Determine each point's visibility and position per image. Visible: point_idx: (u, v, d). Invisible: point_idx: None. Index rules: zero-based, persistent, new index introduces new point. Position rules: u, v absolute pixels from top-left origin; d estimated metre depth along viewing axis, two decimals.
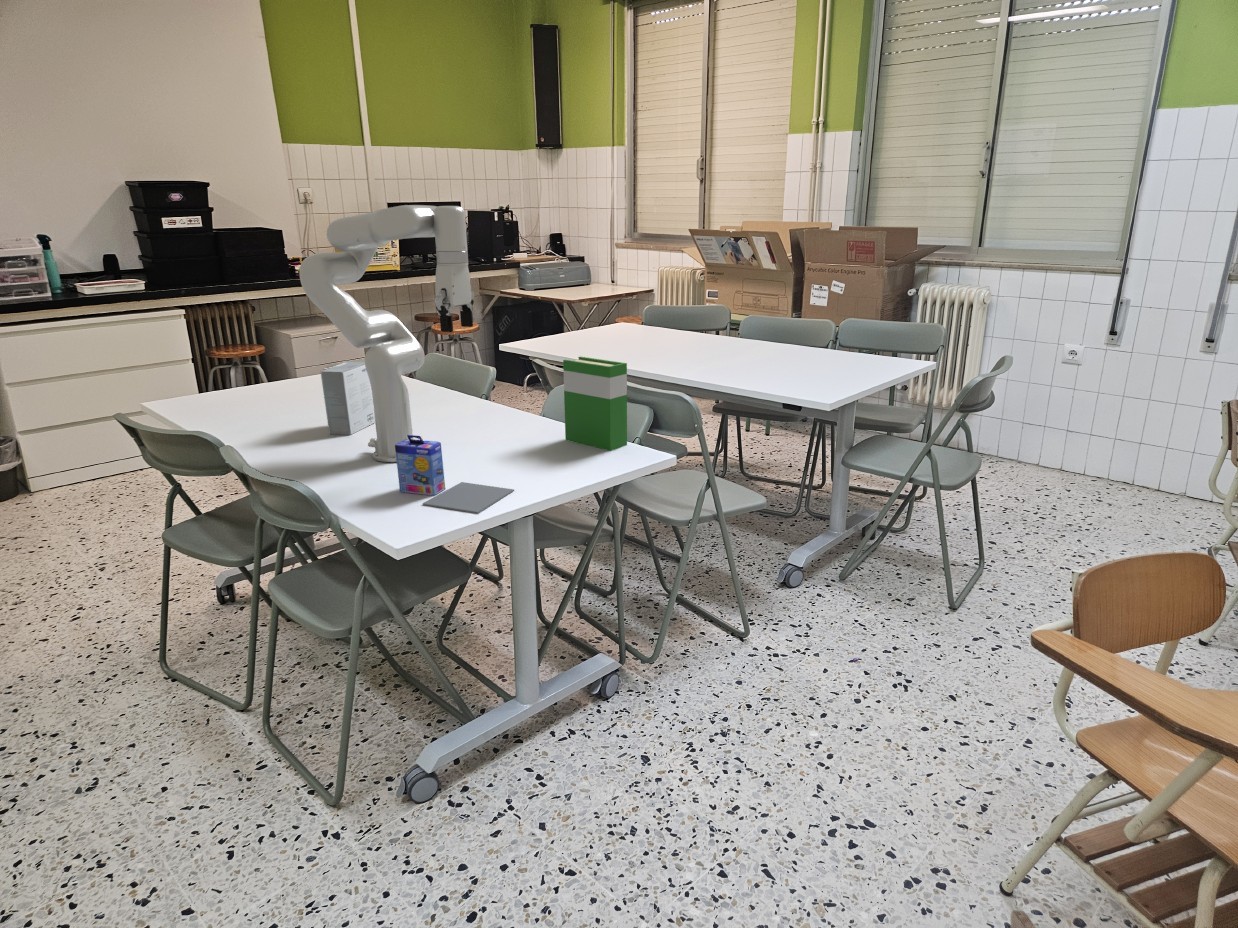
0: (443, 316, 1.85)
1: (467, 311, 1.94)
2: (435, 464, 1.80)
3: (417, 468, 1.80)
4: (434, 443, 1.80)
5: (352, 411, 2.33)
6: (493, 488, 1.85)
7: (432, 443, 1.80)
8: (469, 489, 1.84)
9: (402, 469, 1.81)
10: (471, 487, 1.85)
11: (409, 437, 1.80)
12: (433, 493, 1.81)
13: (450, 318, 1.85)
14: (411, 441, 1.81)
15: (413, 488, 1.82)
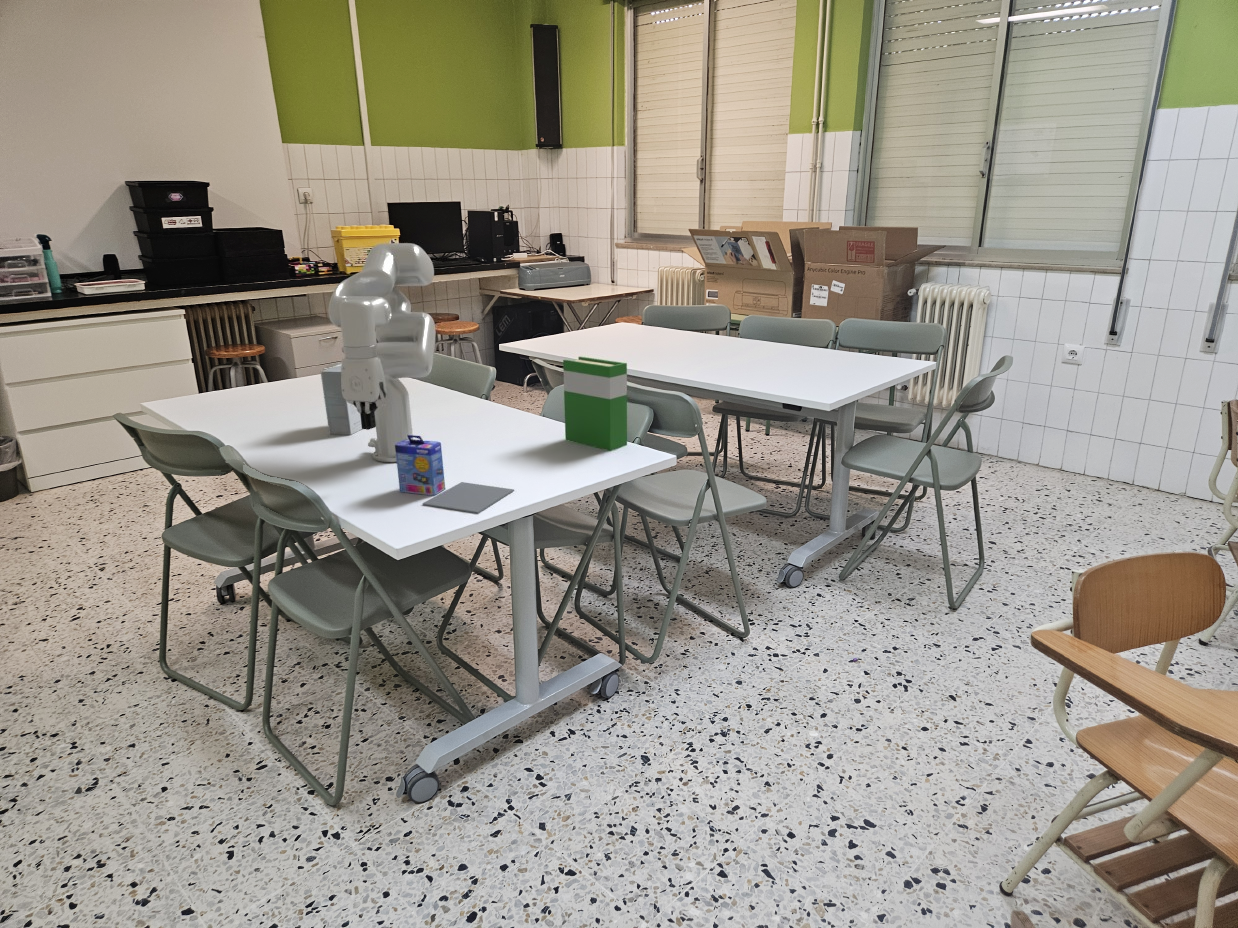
0: (371, 413, 1.83)
1: None
2: (435, 464, 1.80)
3: (417, 468, 1.80)
4: (434, 443, 1.80)
5: (352, 411, 2.33)
6: (493, 488, 1.85)
7: (432, 443, 1.80)
8: (469, 489, 1.84)
9: (402, 469, 1.81)
10: (471, 487, 1.85)
11: (409, 437, 1.80)
12: (433, 493, 1.81)
13: None
14: (411, 441, 1.81)
15: (413, 488, 1.82)
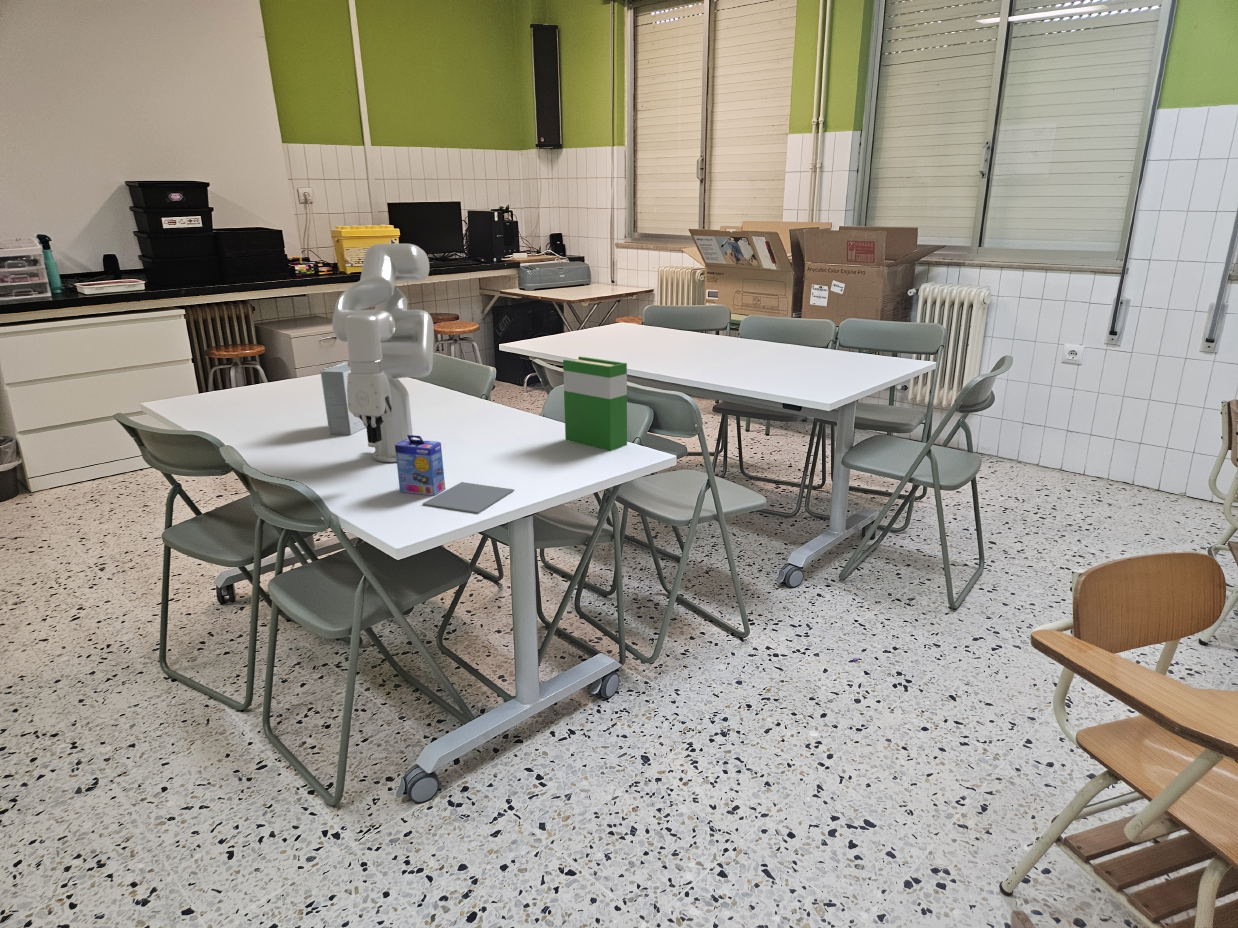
0: (377, 427, 1.84)
1: None
2: (435, 464, 1.80)
3: (417, 468, 1.80)
4: (434, 443, 1.80)
5: None
6: (493, 488, 1.85)
7: (432, 443, 1.80)
8: (469, 489, 1.84)
9: (402, 469, 1.81)
10: (471, 487, 1.85)
11: (409, 437, 1.80)
12: (433, 493, 1.81)
13: None
14: (411, 441, 1.81)
15: (413, 488, 1.82)
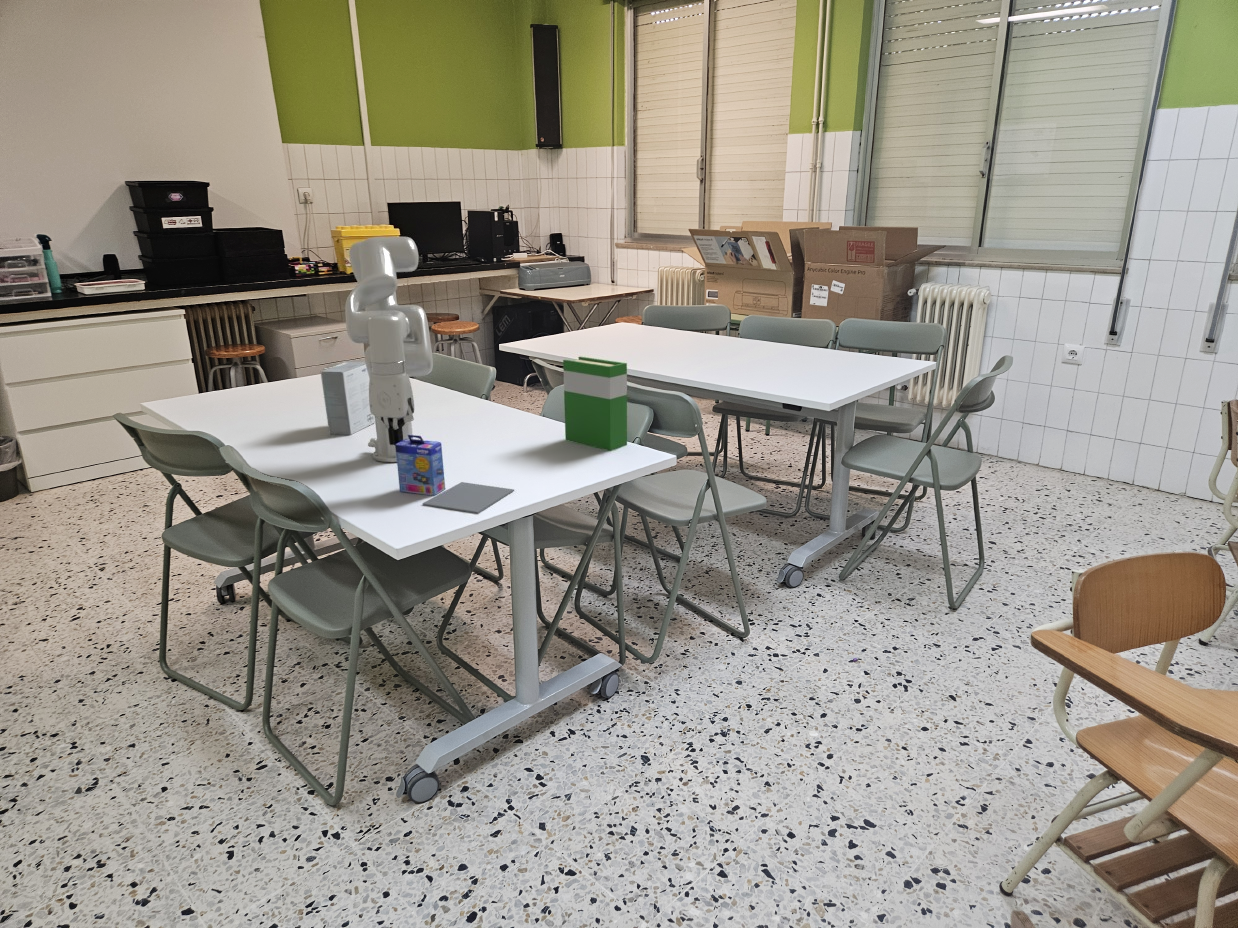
0: (399, 428, 1.81)
1: None
2: (436, 464, 1.80)
3: (417, 468, 1.80)
4: (434, 443, 1.80)
5: (352, 411, 2.33)
6: (493, 488, 1.85)
7: (432, 443, 1.80)
8: (469, 489, 1.84)
9: (402, 468, 1.81)
10: (471, 487, 1.85)
11: (409, 437, 1.80)
12: (433, 493, 1.81)
13: None
14: (411, 441, 1.80)
15: (413, 488, 1.82)
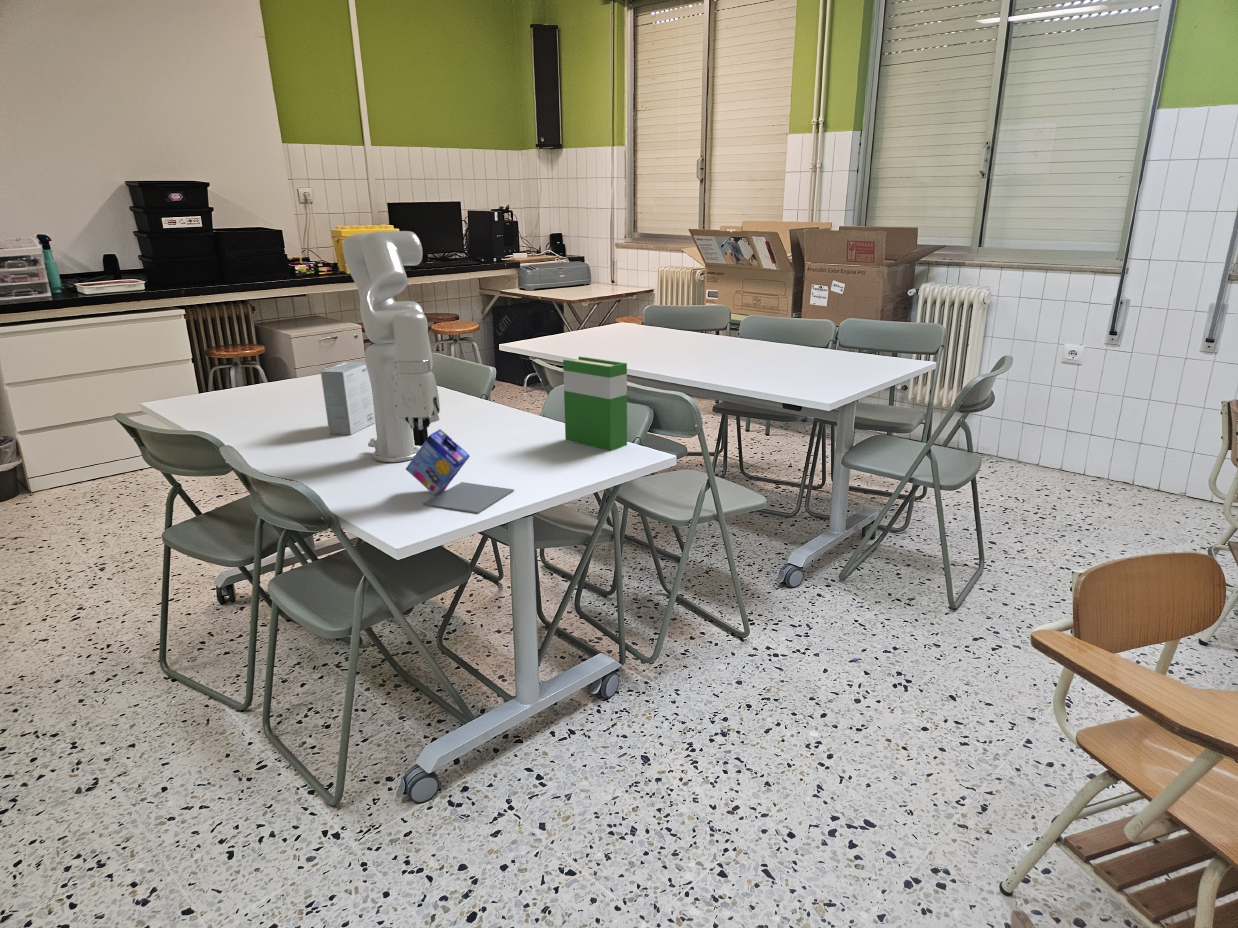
0: (424, 429, 1.78)
1: None
2: (454, 473, 1.79)
3: (435, 466, 1.78)
4: (464, 455, 1.79)
5: (352, 411, 2.33)
6: (493, 488, 1.85)
7: (462, 454, 1.78)
8: (469, 489, 1.84)
9: (422, 457, 1.78)
10: (471, 487, 1.85)
11: (446, 438, 1.76)
12: (435, 493, 1.81)
13: None
14: (445, 440, 1.77)
15: (420, 477, 1.80)
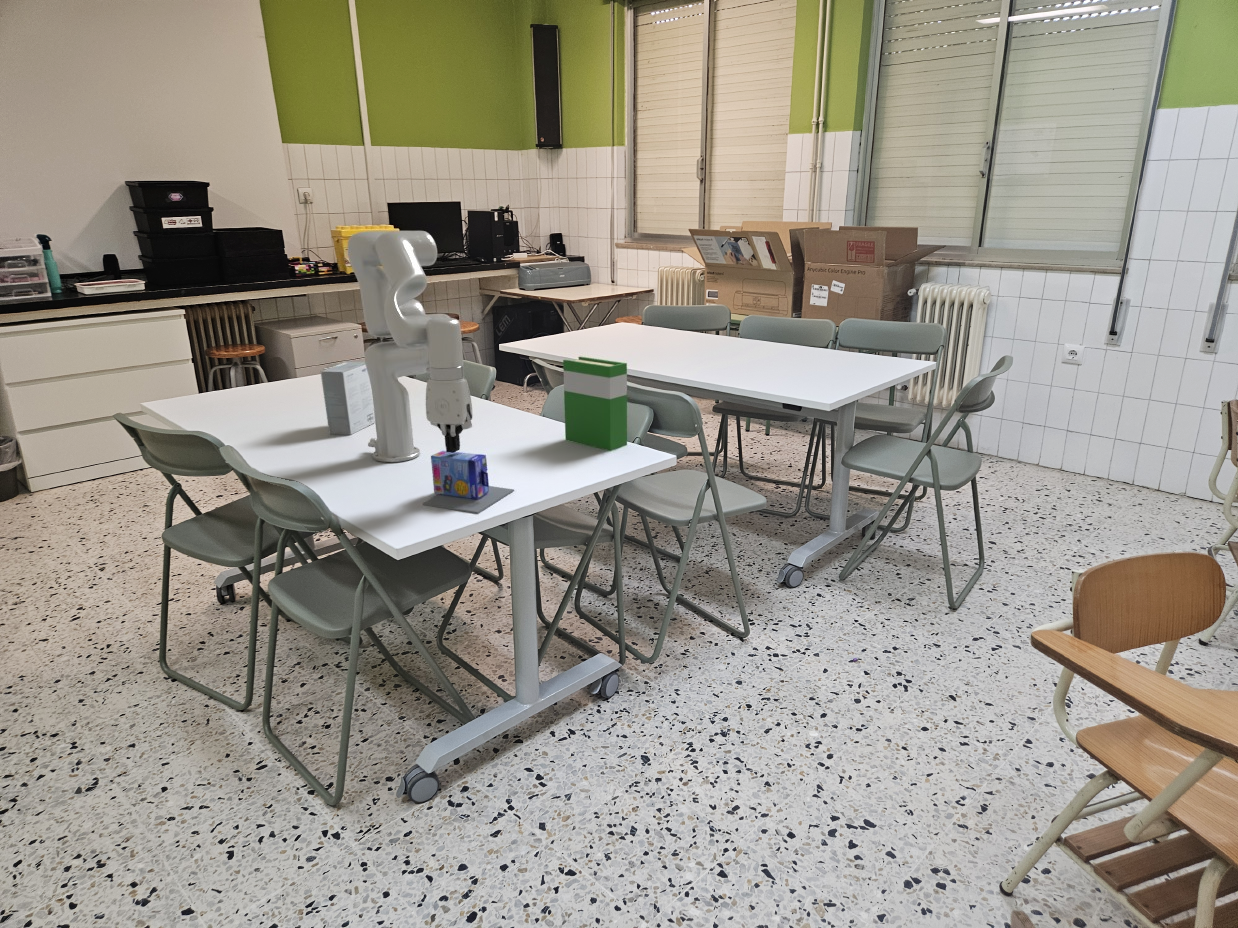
0: (457, 435, 1.76)
1: None
2: None
3: (456, 482, 1.77)
4: (485, 491, 1.80)
5: (352, 411, 2.33)
6: (493, 488, 1.85)
7: (484, 490, 1.79)
8: None
9: (453, 465, 1.76)
10: None
11: (485, 473, 1.76)
12: (436, 493, 1.81)
13: None
14: (482, 472, 1.77)
15: (436, 473, 1.79)
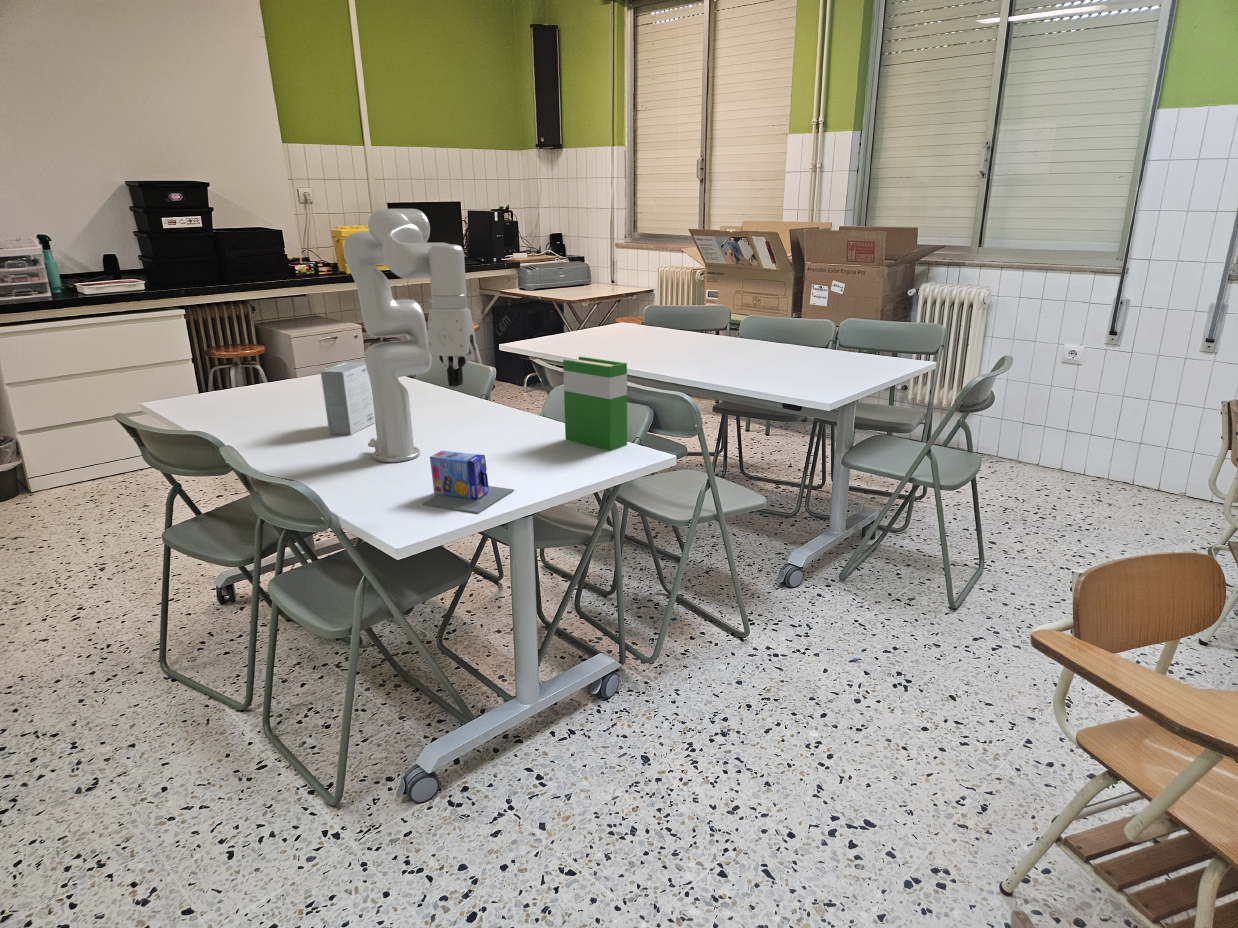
0: (459, 369, 1.70)
1: None
2: None
3: (456, 482, 1.77)
4: (485, 491, 1.80)
5: (352, 411, 2.33)
6: (493, 488, 1.85)
7: (484, 490, 1.79)
8: None
9: (452, 466, 1.76)
10: None
11: (484, 474, 1.75)
12: (436, 493, 1.81)
13: None
14: (482, 472, 1.76)
15: (435, 474, 1.78)
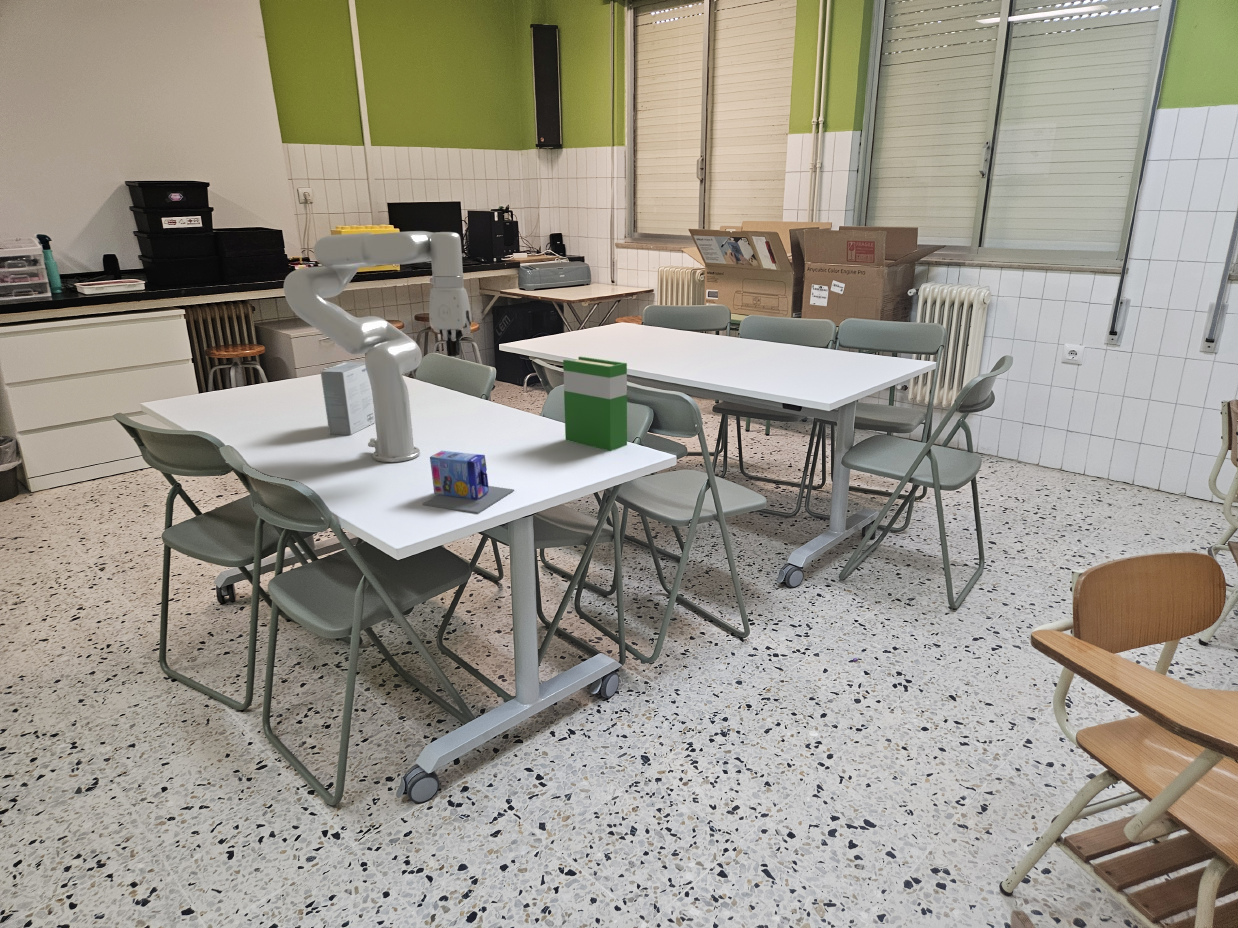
0: (457, 341, 1.95)
1: None
2: None
3: (456, 482, 1.77)
4: (485, 491, 1.80)
5: (352, 411, 2.33)
6: (493, 488, 1.85)
7: (484, 490, 1.79)
8: None
9: (452, 466, 1.76)
10: None
11: (484, 474, 1.75)
12: (436, 493, 1.81)
13: (458, 342, 1.97)
14: (482, 472, 1.76)
15: (435, 474, 1.78)
